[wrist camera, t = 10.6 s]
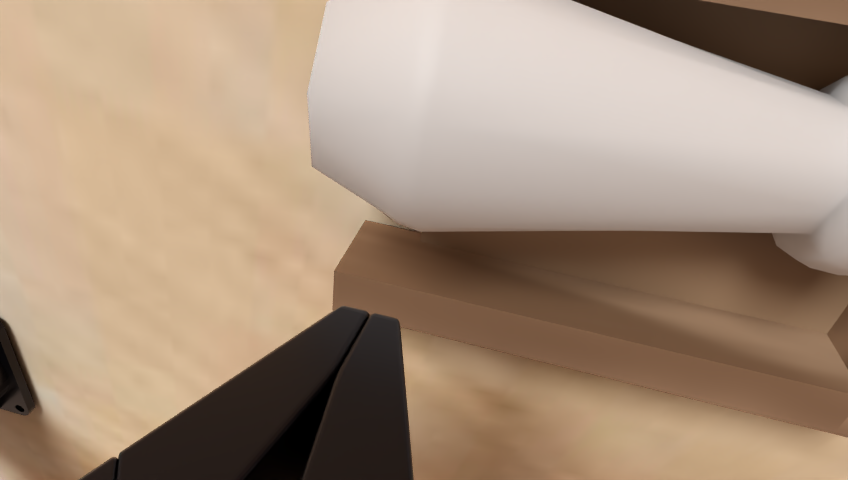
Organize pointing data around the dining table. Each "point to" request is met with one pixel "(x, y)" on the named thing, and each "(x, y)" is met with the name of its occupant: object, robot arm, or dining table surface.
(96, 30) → the dining table surface
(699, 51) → the salt shaker
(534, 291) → the rest
